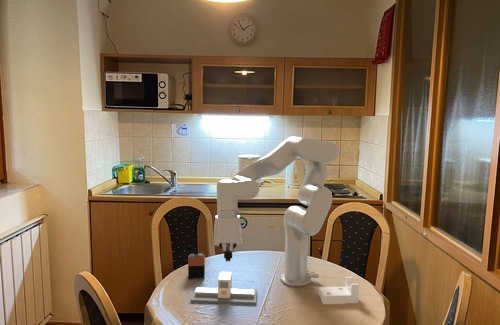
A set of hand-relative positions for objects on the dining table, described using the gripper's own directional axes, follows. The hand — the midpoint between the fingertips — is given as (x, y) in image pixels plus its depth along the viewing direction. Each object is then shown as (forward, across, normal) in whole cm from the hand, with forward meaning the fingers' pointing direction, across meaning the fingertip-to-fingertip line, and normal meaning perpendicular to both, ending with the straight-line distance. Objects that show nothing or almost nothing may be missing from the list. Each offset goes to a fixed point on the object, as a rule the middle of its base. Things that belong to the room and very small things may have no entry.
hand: (228, 260), depth 141 cm
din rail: (+14, +2, +2) cm, 14 cm away
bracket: (+16, -41, +1) cm, 44 cm away
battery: (+14, +15, -15) cm, 26 cm away
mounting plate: (+14, +2, +2) cm, 14 cm away
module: (+13, +1, +2) cm, 13 cm away
